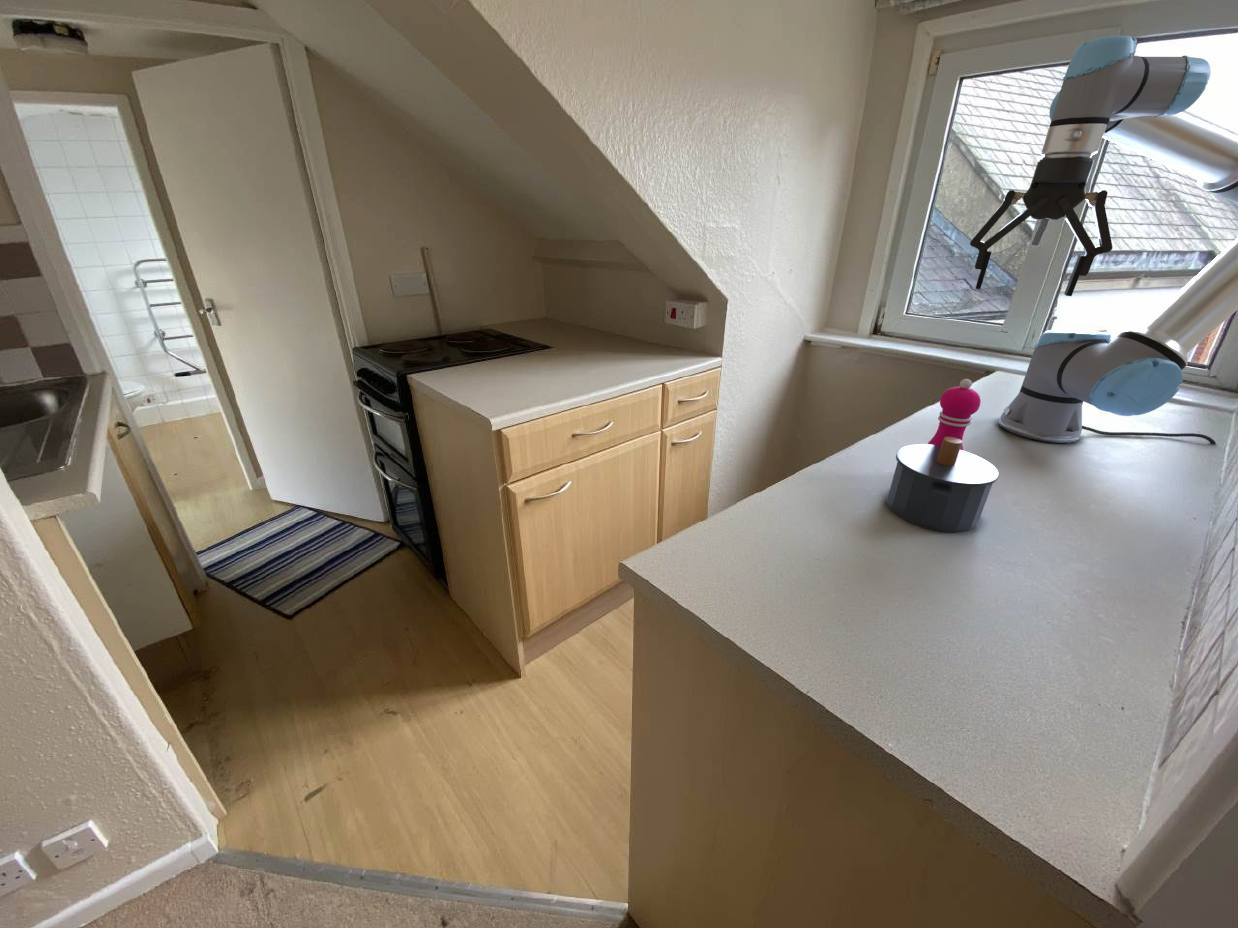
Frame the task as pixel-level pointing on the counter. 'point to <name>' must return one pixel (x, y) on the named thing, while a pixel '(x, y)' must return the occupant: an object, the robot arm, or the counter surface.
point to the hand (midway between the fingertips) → (1021, 291)
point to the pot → (935, 502)
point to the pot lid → (947, 464)
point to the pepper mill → (956, 412)
